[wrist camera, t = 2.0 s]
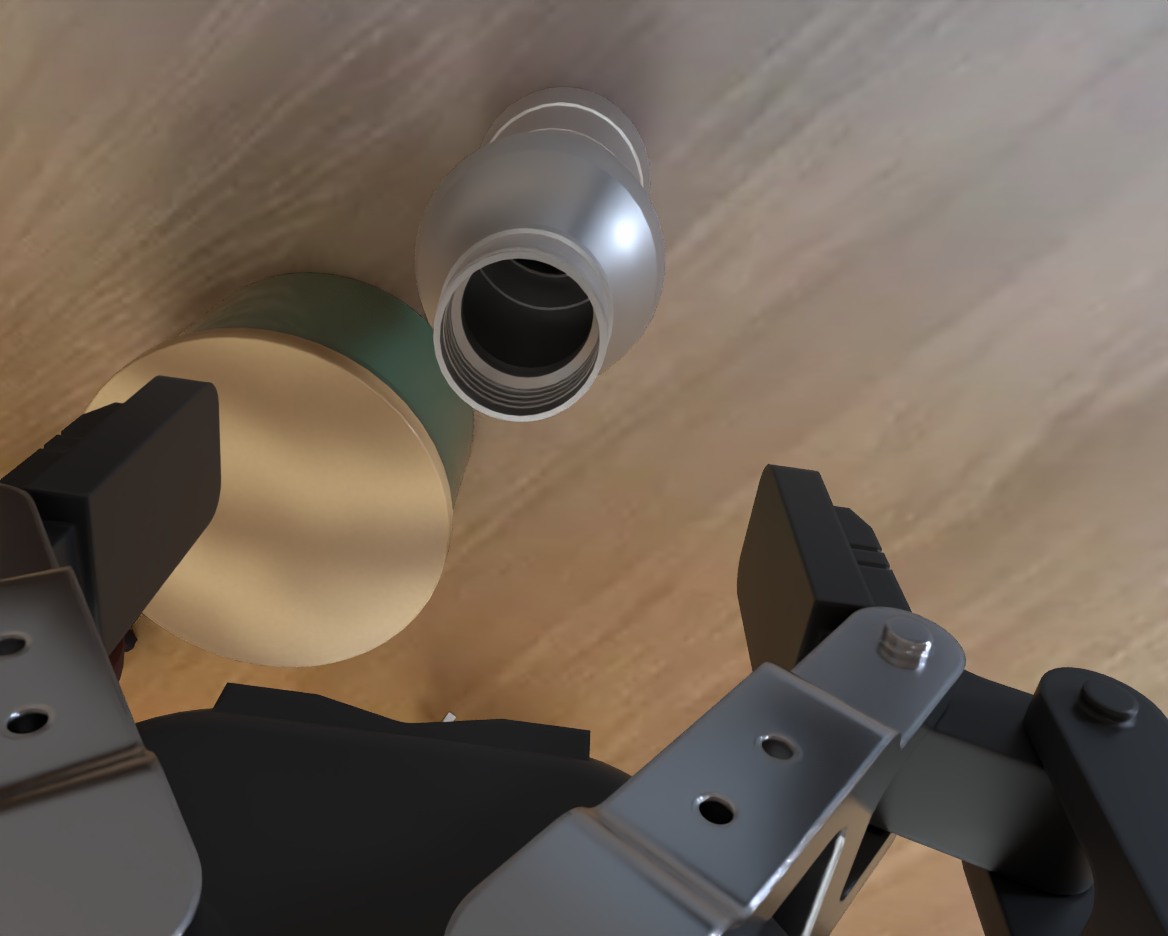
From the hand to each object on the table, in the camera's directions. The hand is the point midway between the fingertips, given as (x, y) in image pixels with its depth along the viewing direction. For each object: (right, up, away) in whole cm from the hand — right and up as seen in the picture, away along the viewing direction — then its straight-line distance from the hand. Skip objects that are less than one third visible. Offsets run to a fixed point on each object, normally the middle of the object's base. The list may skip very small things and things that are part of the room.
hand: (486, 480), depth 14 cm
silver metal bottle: (+1, +12, +23) cm, 26 cm away
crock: (-10, +2, +28) cm, 30 cm away
